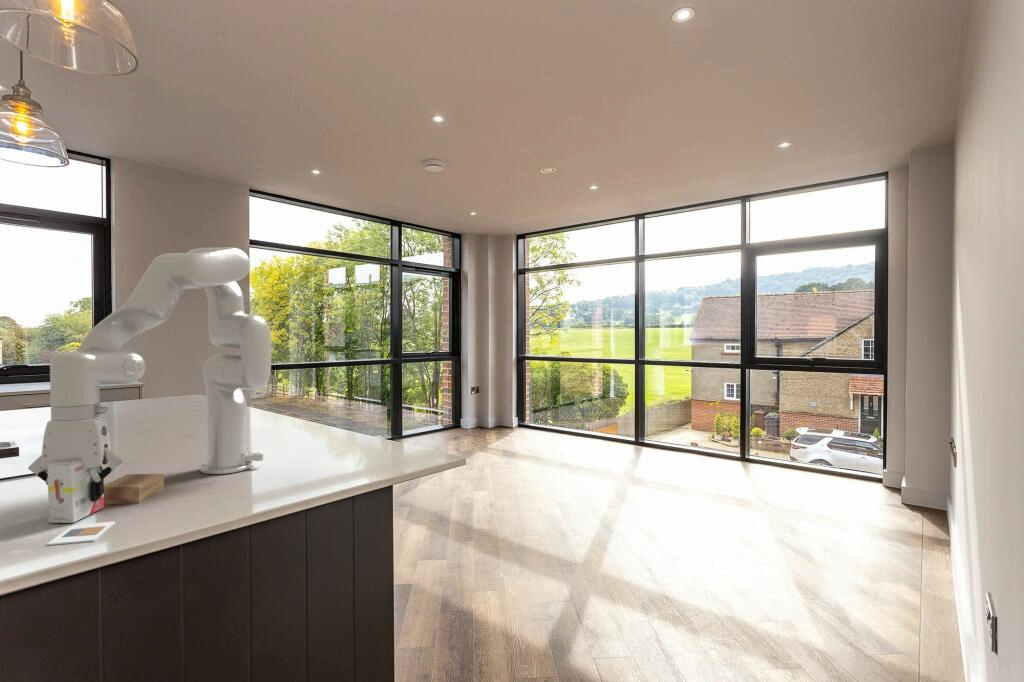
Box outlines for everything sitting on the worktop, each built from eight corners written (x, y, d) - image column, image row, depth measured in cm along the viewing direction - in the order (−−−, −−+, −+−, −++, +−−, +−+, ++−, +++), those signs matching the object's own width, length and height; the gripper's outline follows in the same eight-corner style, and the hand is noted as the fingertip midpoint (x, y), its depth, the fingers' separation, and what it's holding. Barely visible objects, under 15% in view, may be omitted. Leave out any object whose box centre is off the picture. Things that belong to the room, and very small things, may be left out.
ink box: (81, 507, 109) (80, 452, 108) (105, 507, 109) (104, 452, 108) (46, 523, 100) (45, 463, 100) (72, 523, 100) (71, 463, 100)
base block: (164, 490, 123) (164, 473, 123) (139, 504, 113) (139, 486, 113) (127, 490, 122) (127, 474, 122) (99, 505, 112) (99, 487, 112)
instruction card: (115, 522, 101) (115, 521, 101) (94, 541, 93) (94, 539, 93) (72, 526, 99) (72, 524, 99) (46, 545, 91) (46, 543, 91)
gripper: (133, 408, 110) (134, 491, 111) (33, 411, 105) (35, 498, 105) (118, 414, 103) (119, 503, 103) (10, 418, 97) (12, 511, 98)
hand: (77, 500), depth 104 cm, fingers closed on ink box, 5 cm apart
